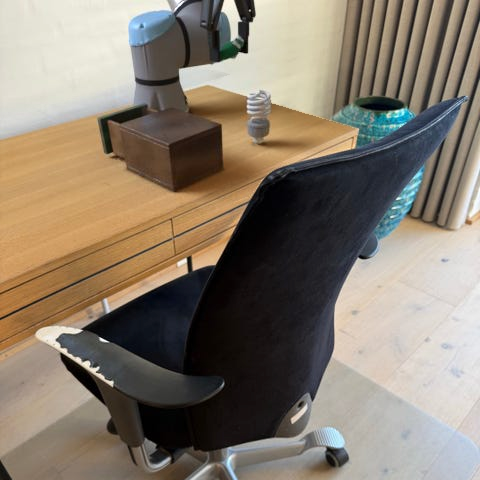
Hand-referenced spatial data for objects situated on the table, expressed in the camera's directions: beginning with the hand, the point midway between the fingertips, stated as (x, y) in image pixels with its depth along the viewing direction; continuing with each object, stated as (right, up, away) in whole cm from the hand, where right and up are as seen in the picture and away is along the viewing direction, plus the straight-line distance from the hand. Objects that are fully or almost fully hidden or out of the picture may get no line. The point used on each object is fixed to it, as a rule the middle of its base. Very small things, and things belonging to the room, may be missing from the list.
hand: (229, 56), depth 115 cm
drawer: (-21, -25, -6) cm, 33 cm away
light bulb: (+7, -22, -1) cm, 23 cm away
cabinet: (-12, -31, -11) cm, 35 cm away
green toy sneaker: (0, 0, +1) cm, 1 cm away
